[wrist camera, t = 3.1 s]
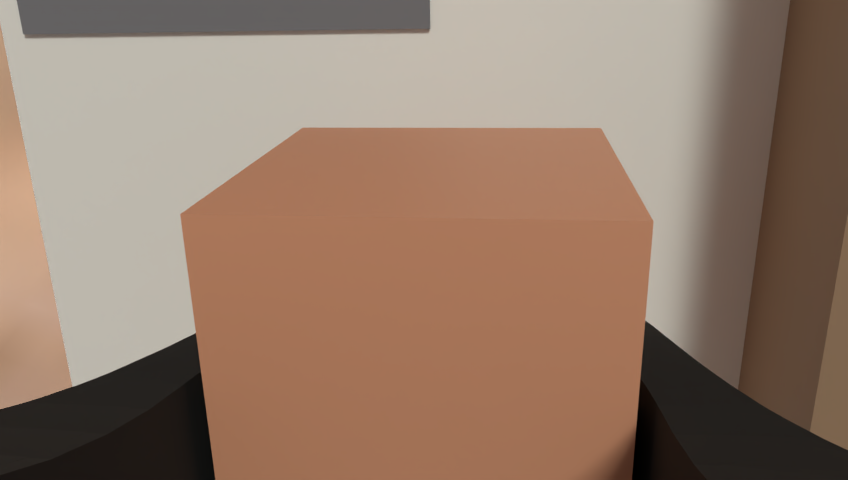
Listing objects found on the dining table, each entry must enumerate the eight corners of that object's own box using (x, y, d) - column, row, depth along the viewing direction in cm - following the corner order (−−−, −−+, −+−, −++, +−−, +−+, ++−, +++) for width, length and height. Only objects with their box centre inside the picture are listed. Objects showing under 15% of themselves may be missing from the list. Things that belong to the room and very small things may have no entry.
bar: (302, 127, 12) (180, 214, 7) (600, 127, 11) (653, 221, 7) (330, 504, 14) (249, 735, 10) (578, 519, 13) (607, 771, 9)
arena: (961, -713, 10) (1223, -1117, 7) (770, 491, 17) (845, 642, 13) (-98, -590, 12) (-379, -852, 8) (102, 456, 19) (-4, 579, 15)
